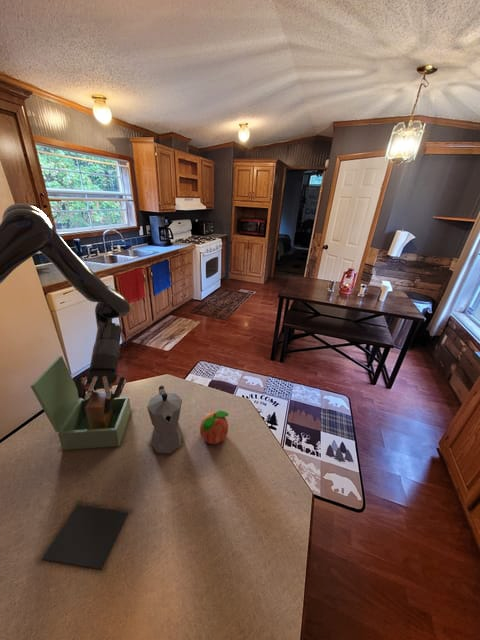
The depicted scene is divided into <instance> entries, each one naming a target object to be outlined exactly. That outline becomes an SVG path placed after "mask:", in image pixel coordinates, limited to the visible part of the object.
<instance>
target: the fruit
mask: <svg viewBox="0 0 480 640" xmlns="http://www.w3.org/2000/svg"><path fill="white" fill-rule="evenodd" d="M228 416H229V413H228V412H227V411H225V410H217V411H211V412H209V413H207V414H206V415H204V417H203V418H202V419H201V421H200V423H199V424H200V425H199V433H200V436H201V439H202V440H203V441H205V443H207V444H210V445H216V444H217V445H218V444H220V443H221V442H223V441H224V440H225V438H226V437H227V435H228V432H229V423H228V420H227V418H226V417H228Z"/></svg>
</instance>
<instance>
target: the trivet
mask: <svg viewBox="0 0 480 640" xmlns="http://www.w3.org/2000/svg"><path fill="white" fill-rule="evenodd" d="M128 514H129V512H127V511H121V510H115V509H109V508H102V507H96V506H91V505H85V504H76V506H75V507H74V510H72V512H71V514H70V515H69V517H68V519H67V520H66V522H65V523H64V525H63V526H62V527H61V529H60V530H59V532H58V533H57V535H56V537H55V538H54V540H53V541H52V543H51V544H50V546H49V547H48V549H47V551H46V552H45V553H44V555H43V557H42V558H41V559H42V561H47V562H48V561H49V562H54V563H61V564H65V565H72V566H77V567H82V568H88V569H93V570H94V569H95V570H100V571H102V570H103V568H104V566H105V564H106V561H107V560H108V557H109V555H110V553H111V551H112V549H113V547H114V544H115V542H116V540H117V538H118V536H119V534H120V531H121V529H122V528H123V525H124V523H125V520H126V519H127V517H128Z"/></svg>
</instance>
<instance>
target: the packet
mask: <svg viewBox="0 0 480 640" xmlns="http://www.w3.org/2000/svg"><path fill="white" fill-rule="evenodd" d="M106 400H107V396H106V392H105V391H96V392H95V393H94V394H93V395H92V396H91V398H90V400H89V402H88V403H87V405H86V407H85V409H86V414H87V419H88V424H89V429H106V428H109V426H110V423H111V421H112V419H113V413H112V408H111V411H109V413H104V409H105V402H106Z"/></svg>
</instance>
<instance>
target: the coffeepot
mask: <svg viewBox="0 0 480 640" xmlns="http://www.w3.org/2000/svg"><path fill="white" fill-rule="evenodd" d="M158 393H159V394H156V395H154V396H152V397H150V400H149V402H148V404H147V406H146V408H147V412H148V414H149V415H148V416H149V418H150V422H151V425H152V426H153V430H152V435H151V442H150V446H151V447H152V448H153V449H154V451H155V452H156V454H171V453H172V452H174V451H175V450H177V449H179V448H180V447H181V444H182V440H183V433H182V429H181V426H180V423H179V421H180V417H181V410H182V403H183V399H182V398H181V397H180V396H179V395H178V394H177V393H175V392H166V388H165V385H160V386H159V387H158Z"/></svg>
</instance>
